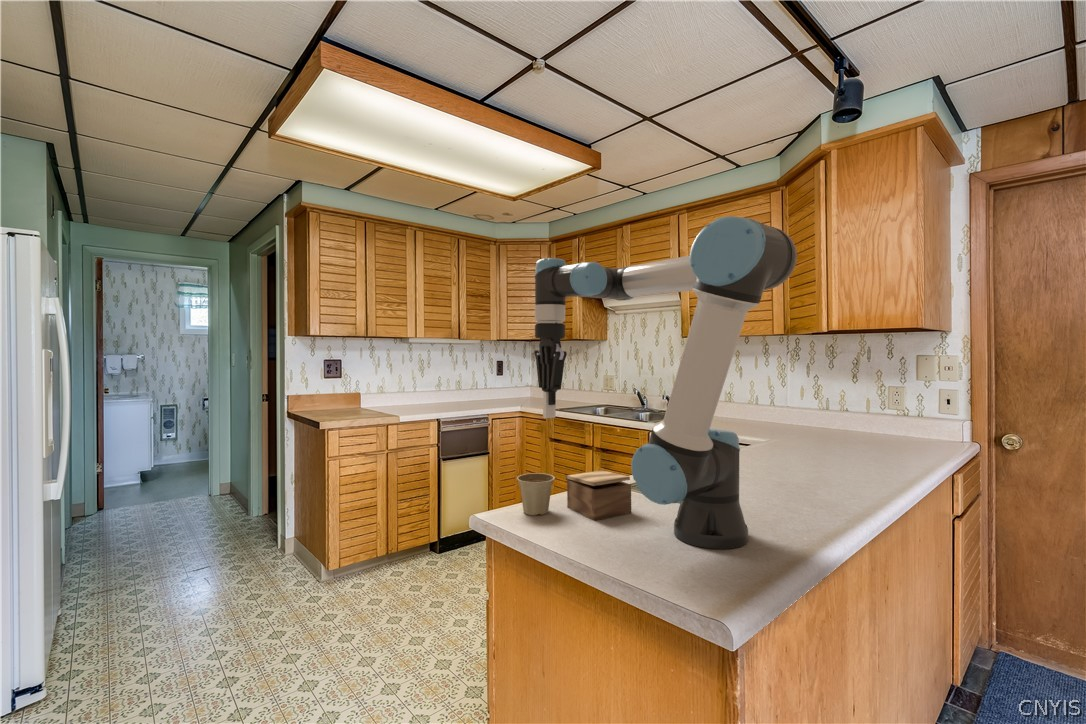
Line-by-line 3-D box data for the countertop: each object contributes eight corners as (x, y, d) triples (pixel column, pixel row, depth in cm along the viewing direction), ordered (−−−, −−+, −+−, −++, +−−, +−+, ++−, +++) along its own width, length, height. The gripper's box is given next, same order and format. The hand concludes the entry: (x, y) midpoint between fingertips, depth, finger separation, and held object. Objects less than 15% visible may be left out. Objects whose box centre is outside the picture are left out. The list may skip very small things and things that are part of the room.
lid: (630, 481, 126) (629, 476, 126) (593, 487, 121) (593, 482, 121) (600, 474, 137) (599, 469, 137) (565, 479, 132) (565, 475, 132)
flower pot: (556, 506, 132) (556, 473, 132) (553, 518, 123) (553, 482, 123) (520, 505, 133) (519, 472, 133) (514, 517, 124) (514, 482, 124)
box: (631, 512, 126) (631, 484, 126) (594, 520, 121) (594, 491, 121) (602, 500, 137) (602, 474, 137) (567, 507, 131) (567, 480, 131)
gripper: (576, 322, 123) (575, 420, 124) (551, 323, 135) (550, 413, 136) (548, 321, 120) (548, 422, 121) (525, 322, 131) (524, 414, 132)
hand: (549, 417), depth 128 cm, fingers closed
